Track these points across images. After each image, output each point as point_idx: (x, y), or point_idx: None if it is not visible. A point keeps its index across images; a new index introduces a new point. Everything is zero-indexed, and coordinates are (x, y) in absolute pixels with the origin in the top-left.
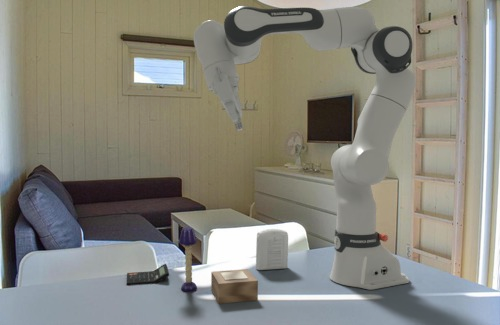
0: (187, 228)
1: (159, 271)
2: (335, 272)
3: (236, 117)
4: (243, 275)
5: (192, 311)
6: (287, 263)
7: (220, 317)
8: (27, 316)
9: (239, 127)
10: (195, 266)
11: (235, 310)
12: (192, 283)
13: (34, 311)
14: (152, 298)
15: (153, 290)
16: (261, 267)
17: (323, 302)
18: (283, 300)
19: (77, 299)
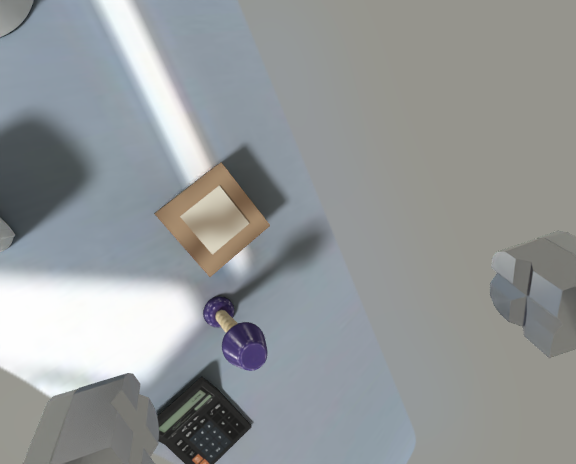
0: (255, 355)
1: (180, 417)
2: (1, 13)
3: (570, 248)
4: (208, 201)
5: (304, 246)
6: None
7: (306, 195)
8: (401, 431)
9: (133, 412)
10: None
11: (273, 185)
12: (220, 306)
13: (388, 440)
14: (285, 337)
15: None
16: (11, 231)
17: (168, 41)
18: (193, 119)
19: (335, 433)
